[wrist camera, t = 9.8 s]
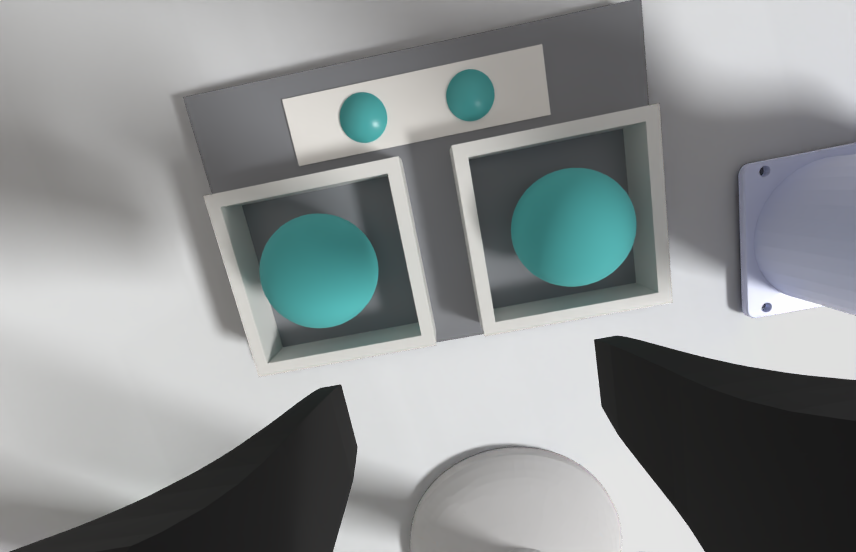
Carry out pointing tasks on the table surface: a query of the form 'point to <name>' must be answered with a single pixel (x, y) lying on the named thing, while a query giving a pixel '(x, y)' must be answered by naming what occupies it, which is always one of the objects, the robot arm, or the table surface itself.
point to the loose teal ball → (318, 270)
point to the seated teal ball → (573, 227)
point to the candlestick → (516, 506)
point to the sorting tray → (438, 179)
